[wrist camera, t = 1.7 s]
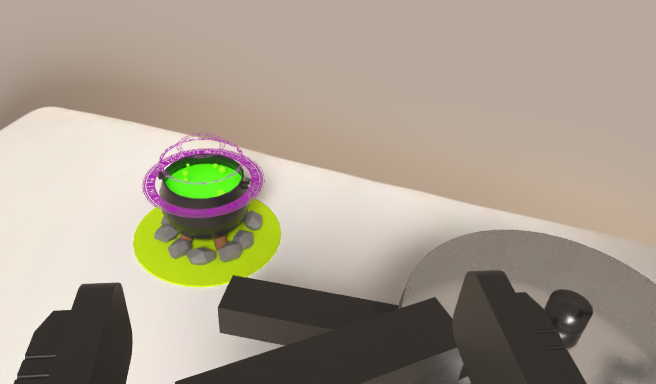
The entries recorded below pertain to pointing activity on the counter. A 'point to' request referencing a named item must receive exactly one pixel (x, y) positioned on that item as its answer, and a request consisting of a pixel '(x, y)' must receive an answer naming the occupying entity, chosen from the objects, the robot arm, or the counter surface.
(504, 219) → the counter surface
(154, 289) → the counter surface
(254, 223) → the toy cauldron
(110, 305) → the robot arm
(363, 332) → the lid
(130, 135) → the counter surface
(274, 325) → the cooker pot
